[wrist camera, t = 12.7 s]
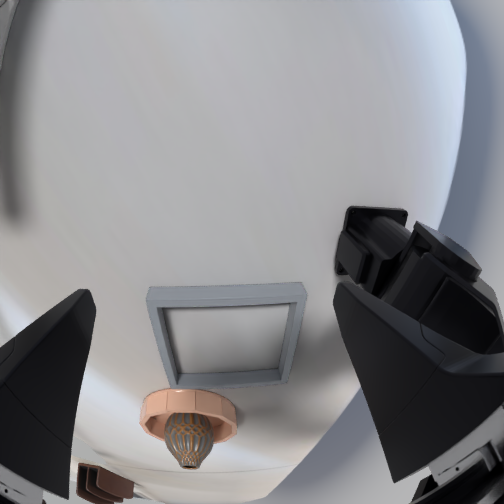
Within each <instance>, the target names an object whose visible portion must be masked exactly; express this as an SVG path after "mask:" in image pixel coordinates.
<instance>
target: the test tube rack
mask: <svg viewBox="0 0 504 504" xmlns="http://www.w3.org/2000/svg"><path fill="white" fill-rule="evenodd" d="M18 2H19V0H0V71H1V65H2V60H3V55H4V50H5V46H6V41H7V37H8V33H9V30H10V26H11V23H12V20H13V16H14V13H15V10H16V7H17V5H18Z"/></svg>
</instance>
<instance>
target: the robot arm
mask: <svg viewBox="0 0 504 504" xmlns="http://www.w3.org/2000/svg"><path fill="white" fill-rule="evenodd" d="M352 211H354V213H353V214H351V212H352ZM402 214H403V216H402ZM407 217H408V213H407V211H406V210H404V209H397V208H382V207H366V206H350V207H349V208H348V209H347V211H346V217H345V222H344V228H343V230H342V232H341V236H340V241H339V246H338V250H337V255H336V257H337V262H336V266H335V271H336V273H337V274H338V275H350V277H351V278H352V279H353V281H354V282H355V283H356V284H360V285H361V287H362V288H363V289H364V290H363V289H361V288H359V287H358V286H356V285H354V284H352V283H351V282H339V283H338V285H337V288H336V291H335V295H334V299H333V306H334V310H335V313H336V317H337V320H338V324H339V327H340V331H341V335H342V338H343V341H344V343H345V346H346V348H347V351H348V353H349V356H350V359H351V361H352V364H353V366H354V369H355V371H356V374H357V377H358V379H359V382H360V385H361V387H362V390H363V393H364V395H365V398H366V401H367V404H368V406H369V409H370V412H371V415H372V417H373V421H374V423H375V426H376V429H377V432H378V435H379V439H380V441H381V445H382V448H383V451H384V454H385V457H386V460H387V463H388V467H389V470H390V473H391V476H392V480H393V482H394V483H396V482H398V481H400V480H403V479H405V478H407V477H409V476H411V475H413V474H415V473H416V472H418V471H420V470H422V469H424V468H426V467H427V466H429V469H430V471H431V473H432V474H431V475H429V476H428V477H426V478H424V479H422V480H421V481H420V483H419V485H418V488H417V490H416V492H415V494H414V497H413V499H412V501H411V503H409V504H504V322H503V317H502V314H501V310H500V307H499V304H498V301H497V297H496V294H495V292H494V290H493V289H492V288H491V287H490V286H489V285H487V284H486V283H485V282H484V281H483V280H482V279H481V278H480V277H479V275H480V273H481V271H482V269H481V267H480V266H479V265H478V263H477V262H476V261H475V259H474V258H473V257H472V255H471V254H470V253H469V252H468V251H467V250H466V249H464V248H463V247H462V246H460V245H459V244H457V243H456V242H455V241H453V240H452V239H451V238H449V237H447V236H445V235H443V234H442V233H440V232H438V231H436V230H434V229H432V228H430V227H428V226H426V225H424V224H422V223H420V222H418V221H416V223H415V225H414V227H413V228H414V230H413V232H412V233H411V232H410V231H409V230H408V229H406V228H405V224H406V221H407ZM341 268H342V269H341ZM340 269H341V270H340ZM95 317H96V306H95V303H94V300H93V297H92V295H91V292H90V290H88V289H78V290H77V291H75V292H74V293H73V294H71V295H70V296H68V297H67V298H65V299H64V300H63V301H61V302H60V303H58V304H57V305H56V306H54V307H53V308H51V309H50V310H49V311H47V312H46V313H45V314H43V315H42V316H41V317H39V318H38V319H37V320H35V321H34V322H33V323H31V324H30V325H29V326H27V327H26V328H25V329H23V330H22V331H21V332H20V333H18V334H17V335H16V336H15V337H13V338H12V339H11V340H9V341H8V342H7V343H6V344H4V345H3V346H2V347H0V504H46V502H45V501H44V500H43V499H42V498H43V490H44V491H47V492H49V493H51V494H54V495H56V496H59V497H62V498H64V499H67V500H68V499H69V478H70V462H71V448H72V440H73V432H74V424H75V418H76V411H77V406H78V400H79V395H80V390H81V385H82V380H83V375H84V371H85V367H86V363H87V359H88V355H89V350H90V346H91V340H92V334H93V328H94V322H95Z"/></svg>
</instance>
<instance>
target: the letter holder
mask: <svg viewBox="0 0 504 504" xmlns="http://www.w3.org/2000/svg"><path fill="white" fill-rule="evenodd" d="M133 489H134V482H133V481H130V480H128V479H125V478H123V477H121V476H119V475H117V474H114V473H112V472H110V471H108V470H106V469H104V468H102V467H100V466H96V465H89V464H84V463H79V464H78V474H77V490H76V493H77V495H78V496H79V497H81V498H83V499H85V500H87V501H89V502H92V503H95V504H114V502H118V503H122V502H123V498H126V499H132V498H133Z"/></svg>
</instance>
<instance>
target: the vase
mask: <svg viewBox="0 0 504 504" xmlns="http://www.w3.org/2000/svg"><path fill="white" fill-rule="evenodd" d="M164 439H165V443H166V445H167V448H168V449H169V451H170V452H171V453H172V455H173V456H174V457H175V458H176V459H177V461H178V462H179V464H180V466H181V467H182V468H184V469H198V468H199V467H200V465H201V463H202V461H203V460H204V459H205V458H206V457H207V456H208V454H209V453H210V452H211V450H212V447H213V444H214V431H213V427H212V424H211V422H210V420H209V419H208V418H207V417H206V416H205V415H203V414H198V413H176V412H174V413H172V414H171V415H170V416H169V418H168V419H167V421H166V424H165V428H164Z"/></svg>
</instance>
